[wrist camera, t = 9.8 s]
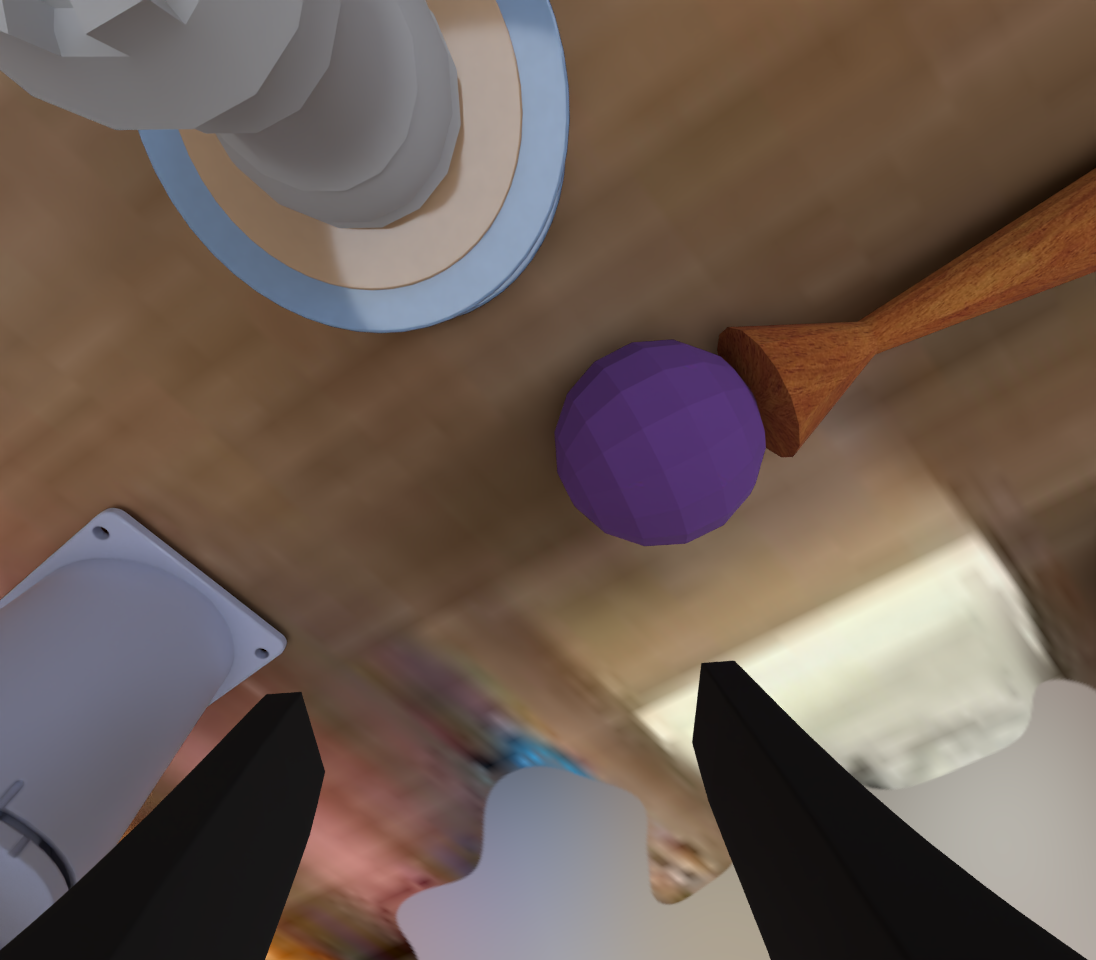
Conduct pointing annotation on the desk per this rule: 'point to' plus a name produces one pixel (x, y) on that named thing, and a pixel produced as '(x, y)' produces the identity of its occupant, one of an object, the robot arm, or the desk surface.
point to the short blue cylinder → (442, 221)
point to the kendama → (776, 383)
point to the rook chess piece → (261, 89)
